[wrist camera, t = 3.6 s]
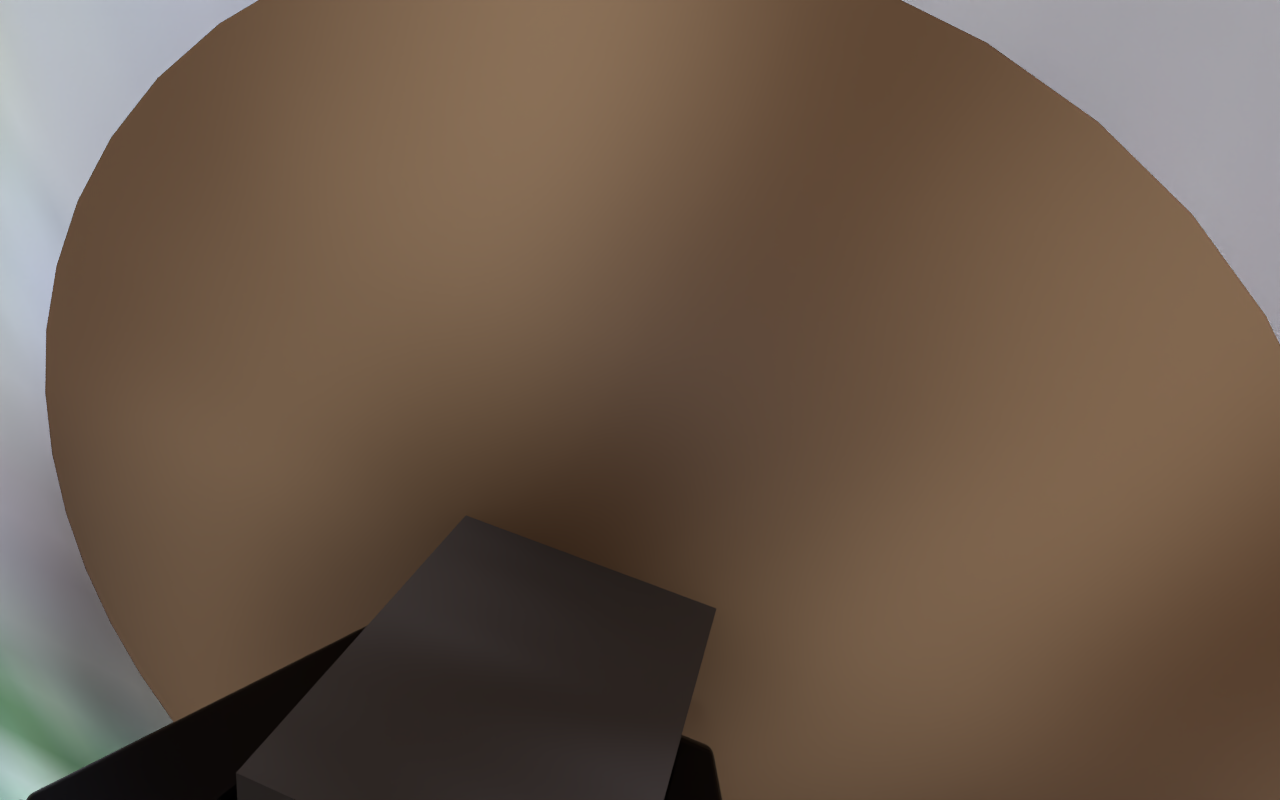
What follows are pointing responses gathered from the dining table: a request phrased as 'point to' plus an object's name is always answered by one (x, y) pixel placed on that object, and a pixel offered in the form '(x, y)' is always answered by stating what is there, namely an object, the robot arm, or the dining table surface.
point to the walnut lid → (669, 412)
